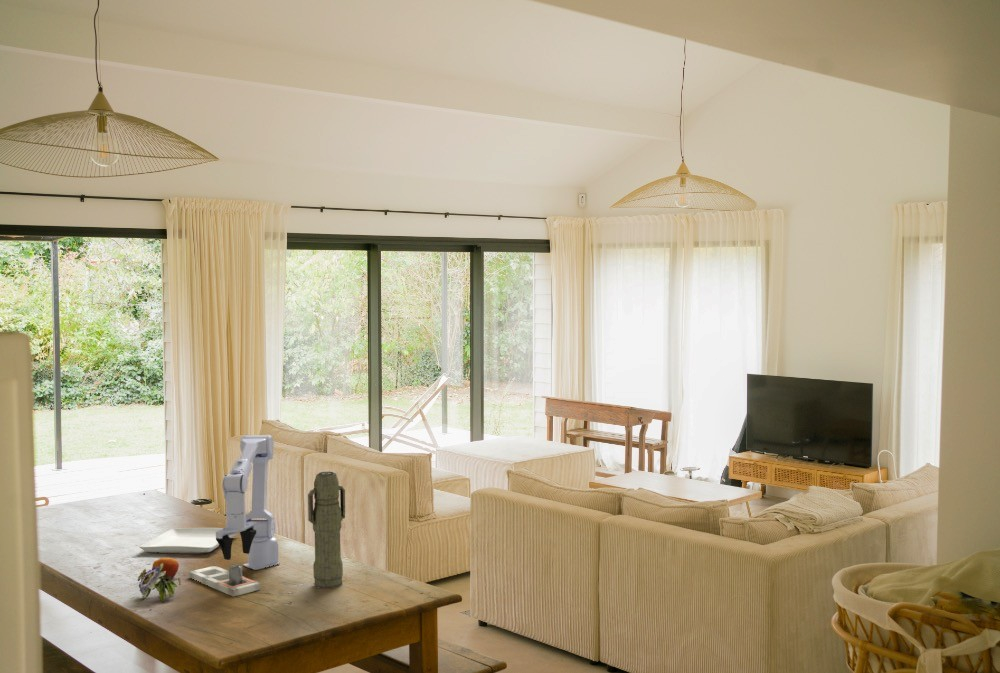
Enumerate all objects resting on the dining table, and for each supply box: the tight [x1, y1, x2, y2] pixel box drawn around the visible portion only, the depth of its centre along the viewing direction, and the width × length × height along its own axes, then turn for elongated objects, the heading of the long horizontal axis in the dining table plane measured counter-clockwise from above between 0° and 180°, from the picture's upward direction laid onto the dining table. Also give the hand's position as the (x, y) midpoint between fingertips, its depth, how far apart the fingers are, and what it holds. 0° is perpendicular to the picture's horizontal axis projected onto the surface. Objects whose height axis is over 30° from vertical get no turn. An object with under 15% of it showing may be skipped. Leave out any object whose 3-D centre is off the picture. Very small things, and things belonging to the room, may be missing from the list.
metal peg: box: [228, 564, 243, 586], centre depth 285 cm, size 4×4×7 cm
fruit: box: [151, 557, 180, 581], centre depth 296 cm, size 8×8×8 cm
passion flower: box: [137, 563, 182, 602], centre depth 278 cm, size 11×11×12 cm
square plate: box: [139, 527, 238, 554], centre depth 336 cm, size 27×27×4 cm
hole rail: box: [188, 565, 261, 597], centre depth 290 cm, size 9×28×2 cm, turn 45°
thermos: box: [307, 471, 346, 589], centre depth 287 cm, size 9×12×35 cm
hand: (236, 556), depth 285 cm, fingers open, 7 cm apart
